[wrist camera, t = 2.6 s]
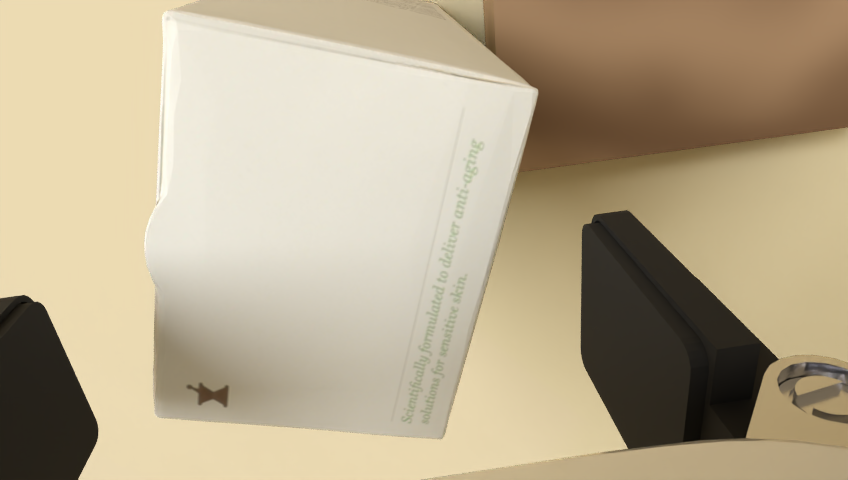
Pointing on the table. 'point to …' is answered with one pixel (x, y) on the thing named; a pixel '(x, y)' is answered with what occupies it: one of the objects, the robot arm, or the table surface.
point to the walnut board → (670, 72)
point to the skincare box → (326, 211)
